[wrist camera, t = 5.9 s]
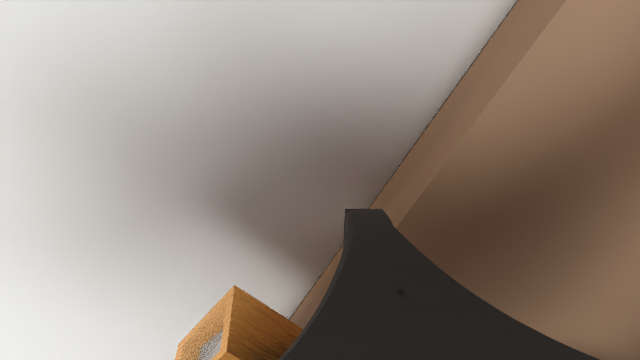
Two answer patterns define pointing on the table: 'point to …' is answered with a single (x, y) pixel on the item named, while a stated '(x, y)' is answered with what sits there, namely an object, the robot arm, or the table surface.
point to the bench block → (535, 177)
